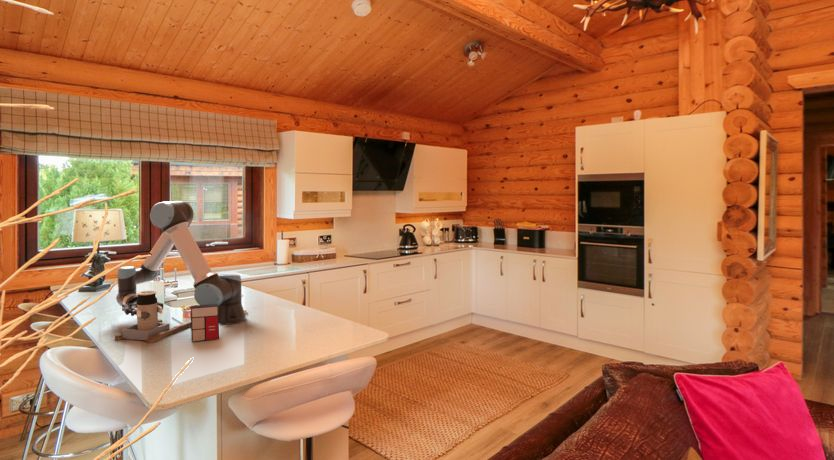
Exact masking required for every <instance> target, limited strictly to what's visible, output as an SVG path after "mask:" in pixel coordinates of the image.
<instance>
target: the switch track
mask: <svg viewBox="0 0 834 460" xmlns="http://www.w3.org/2000/svg"><path fill="white" fill-rule="evenodd" d="M158 322H161V323H163V319H158ZM189 328H191V321H186V322H184V323H181V324H178V325H176V326H173V327H171V328H170V329H168V330H166V331H163V332H160V333H158V334H156V335H153V336H151V337H148V338H146V340H145V341H146V342H145V343H146V344H153V343H155V342H158V341H159V340H162V339H164V338H167V337H169V336H171V335H174V334H177V333H178V332H182V331H183V330H186V329H189ZM123 339H125V338H122V332H121V333H118V334H115V335H114V340H115V341H120V340H123Z"/></svg>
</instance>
